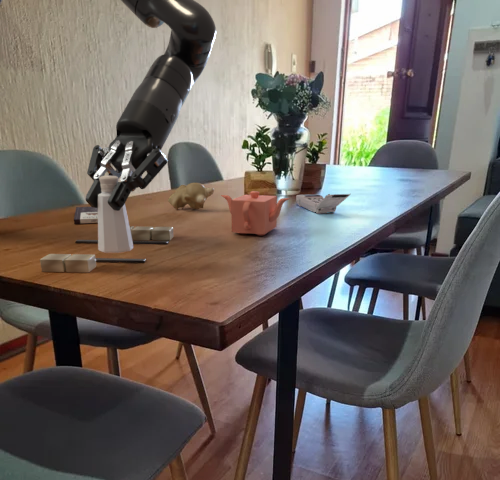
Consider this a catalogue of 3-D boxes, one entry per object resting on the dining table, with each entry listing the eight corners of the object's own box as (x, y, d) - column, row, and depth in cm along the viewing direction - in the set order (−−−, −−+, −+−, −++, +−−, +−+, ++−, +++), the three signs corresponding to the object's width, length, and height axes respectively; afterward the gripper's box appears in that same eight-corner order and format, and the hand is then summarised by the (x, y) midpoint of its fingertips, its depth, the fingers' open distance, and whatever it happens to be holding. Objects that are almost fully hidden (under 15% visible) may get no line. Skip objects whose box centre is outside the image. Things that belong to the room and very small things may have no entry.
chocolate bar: (112, 205, 133) (114, 217, 117) (112, 209, 133) (115, 221, 117) (76, 207, 131) (73, 219, 115) (76, 210, 131) (74, 223, 115)
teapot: (231, 224, 115) (231, 186, 111) (296, 229, 110) (297, 189, 107) (210, 235, 104) (209, 193, 101) (280, 240, 100) (281, 197, 96)
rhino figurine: (184, 183, 137) (212, 173, 128) (196, 207, 140) (224, 199, 131) (162, 195, 132) (189, 185, 124) (175, 220, 135) (202, 212, 126)
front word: (41, 271, 80) (39, 259, 79) (60, 259, 87) (58, 248, 86) (134, 273, 79) (133, 260, 78) (146, 261, 86) (145, 249, 85)
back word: (75, 243, 98) (74, 232, 97) (88, 235, 104) (86, 225, 104) (167, 244, 97) (166, 234, 96) (174, 236, 103) (174, 226, 103)
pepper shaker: (113, 243, 83) (106, 173, 79) (140, 247, 81) (134, 175, 77) (90, 251, 78) (81, 177, 74) (119, 255, 76) (111, 179, 72)
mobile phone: (329, 194, 118) (292, 181, 140) (327, 219, 120) (291, 203, 142) (352, 193, 119) (313, 181, 142) (350, 219, 122) (311, 202, 144)
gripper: (103, 98, 80) (51, 186, 75) (174, 97, 74) (123, 193, 69) (129, 133, 87) (83, 216, 82) (197, 135, 80) (151, 225, 75)
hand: (102, 205), depth 75 cm, fingers closed on pepper shaker, 4 cm apart
